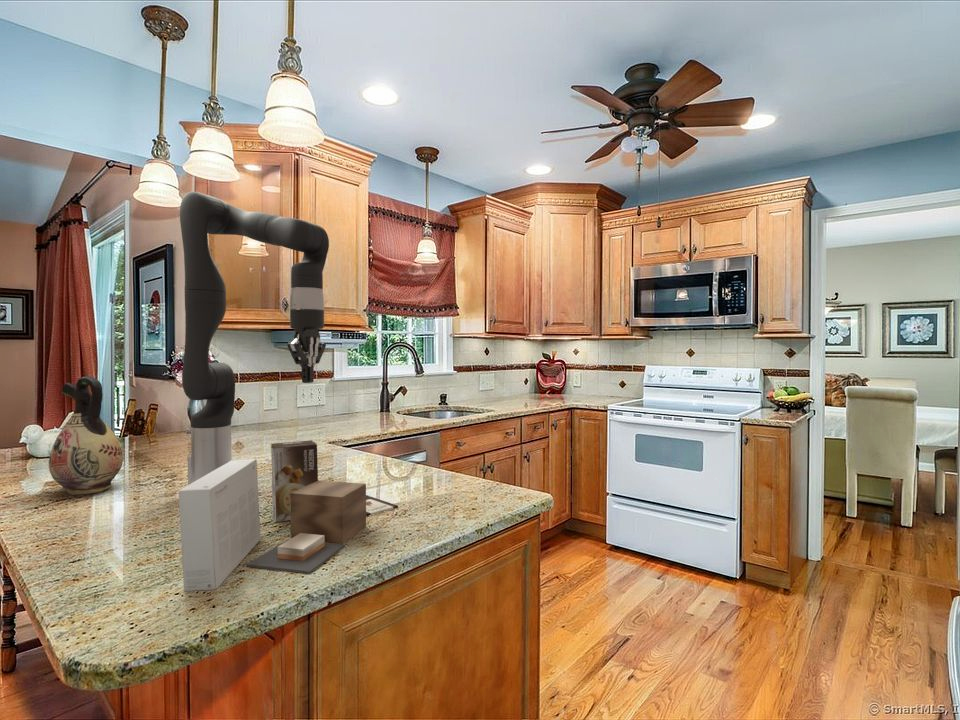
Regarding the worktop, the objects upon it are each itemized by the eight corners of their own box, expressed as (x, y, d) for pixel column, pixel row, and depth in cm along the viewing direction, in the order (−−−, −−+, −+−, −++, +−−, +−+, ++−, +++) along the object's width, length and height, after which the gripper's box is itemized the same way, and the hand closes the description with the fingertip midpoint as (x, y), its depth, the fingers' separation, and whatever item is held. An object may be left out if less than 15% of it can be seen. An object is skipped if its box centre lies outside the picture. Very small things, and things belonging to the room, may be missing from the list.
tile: (300, 533, 98) (300, 543, 98) (277, 546, 91) (277, 558, 91) (324, 535, 97) (324, 546, 97) (303, 549, 90) (303, 560, 90)
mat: (246, 566, 89) (246, 564, 89) (288, 541, 100) (288, 539, 100) (309, 573, 86) (309, 571, 86) (345, 546, 98) (345, 544, 98)
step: (291, 539, 101) (290, 493, 101) (318, 522, 111) (318, 480, 111) (342, 544, 99) (342, 497, 99) (366, 526, 109) (365, 483, 108)
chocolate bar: (354, 491, 134) (398, 505, 122) (354, 494, 134) (398, 509, 122) (322, 498, 127) (365, 514, 115) (322, 502, 127) (365, 518, 115)
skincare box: (232, 541, 101) (231, 459, 100) (261, 540, 101) (260, 458, 101) (178, 592, 80) (177, 488, 79) (215, 591, 80) (214, 488, 80)
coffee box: (314, 508, 121) (313, 439, 120) (319, 516, 115) (318, 444, 115) (271, 514, 117) (270, 442, 116) (274, 523, 111) (274, 447, 110)
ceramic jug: (34, 495, 131) (32, 376, 131) (99, 480, 146) (97, 373, 145) (78, 503, 125) (75, 377, 124) (141, 487, 139) (139, 374, 138)
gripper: (308, 310, 129) (308, 380, 129) (275, 306, 116) (276, 384, 117) (336, 310, 127) (336, 381, 128) (305, 306, 114) (306, 385, 115)
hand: (307, 382), depth 122 cm, fingers closed
